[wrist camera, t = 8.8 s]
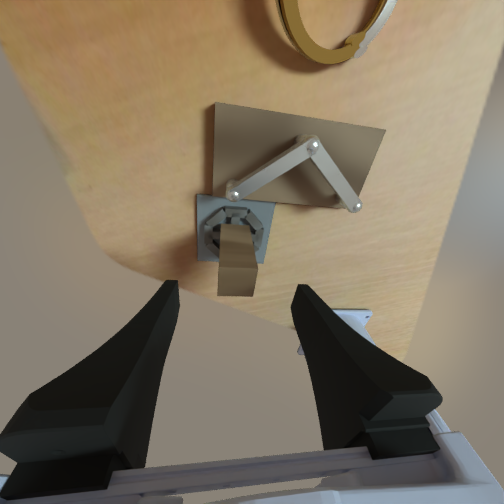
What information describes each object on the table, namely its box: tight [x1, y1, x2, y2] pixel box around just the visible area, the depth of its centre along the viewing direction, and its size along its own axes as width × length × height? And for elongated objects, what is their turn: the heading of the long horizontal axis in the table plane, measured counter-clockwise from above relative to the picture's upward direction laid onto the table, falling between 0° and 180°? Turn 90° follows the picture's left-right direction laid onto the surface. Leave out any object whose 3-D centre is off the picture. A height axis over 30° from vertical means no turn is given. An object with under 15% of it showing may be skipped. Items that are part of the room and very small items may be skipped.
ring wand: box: [204, 205, 264, 297], centre depth 16 cm, size 5×5×7 cm
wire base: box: [212, 102, 386, 209], centre depth 16 cm, size 6×12×1 cm, turn 83°
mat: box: [197, 194, 276, 264], centre depth 19 cm, size 6×6×1 cm
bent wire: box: [226, 134, 363, 213], centre depth 15 cm, size 5×10×4 cm, turn 83°
